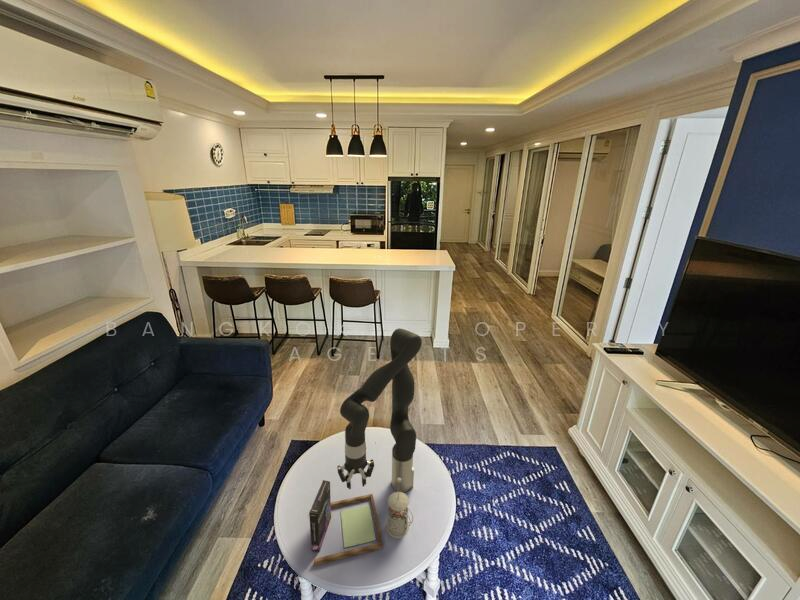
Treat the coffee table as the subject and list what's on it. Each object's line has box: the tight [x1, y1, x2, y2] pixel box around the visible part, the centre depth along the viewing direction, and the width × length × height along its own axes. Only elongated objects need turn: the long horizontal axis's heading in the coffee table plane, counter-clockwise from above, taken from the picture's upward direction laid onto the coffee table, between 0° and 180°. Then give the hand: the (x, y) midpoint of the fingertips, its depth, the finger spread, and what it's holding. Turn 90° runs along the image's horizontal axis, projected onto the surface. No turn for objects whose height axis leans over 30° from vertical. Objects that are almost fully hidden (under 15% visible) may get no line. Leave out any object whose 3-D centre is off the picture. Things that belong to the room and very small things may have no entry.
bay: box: [313, 493, 384, 567], centre depth 129 cm, size 25×22×2 cm
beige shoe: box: [385, 478, 414, 539], centre depth 125 cm, size 10×12×25 cm
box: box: [308, 479, 332, 553], centre depth 124 cm, size 14×4×20 cm, turn 173°
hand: (356, 485), depth 123 cm, fingers open, 4 cm apart
